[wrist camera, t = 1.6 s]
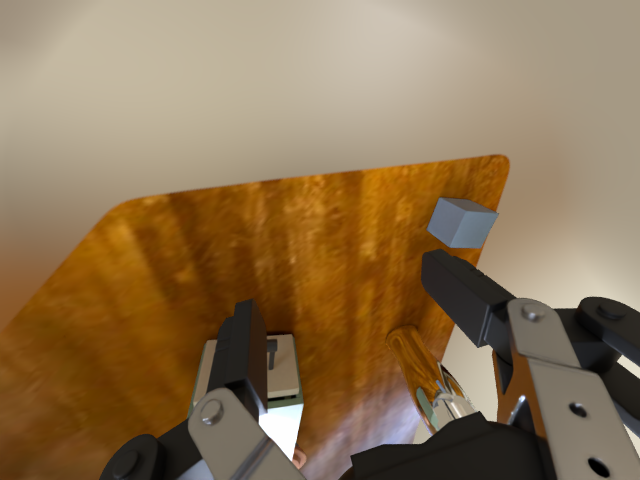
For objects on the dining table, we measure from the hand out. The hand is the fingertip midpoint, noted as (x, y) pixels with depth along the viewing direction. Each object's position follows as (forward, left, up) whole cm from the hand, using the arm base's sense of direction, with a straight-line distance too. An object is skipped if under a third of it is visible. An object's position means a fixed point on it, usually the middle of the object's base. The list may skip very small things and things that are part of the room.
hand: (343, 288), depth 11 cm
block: (+15, +13, -17) cm, 26 cm away
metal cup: (+33, -2, -17) cm, 37 cm away
